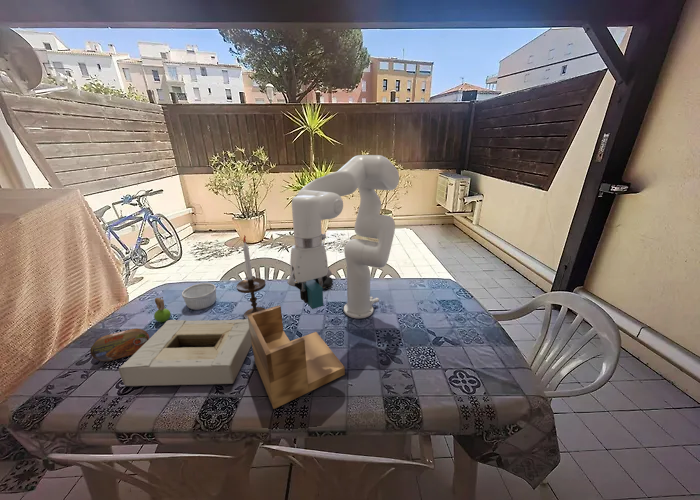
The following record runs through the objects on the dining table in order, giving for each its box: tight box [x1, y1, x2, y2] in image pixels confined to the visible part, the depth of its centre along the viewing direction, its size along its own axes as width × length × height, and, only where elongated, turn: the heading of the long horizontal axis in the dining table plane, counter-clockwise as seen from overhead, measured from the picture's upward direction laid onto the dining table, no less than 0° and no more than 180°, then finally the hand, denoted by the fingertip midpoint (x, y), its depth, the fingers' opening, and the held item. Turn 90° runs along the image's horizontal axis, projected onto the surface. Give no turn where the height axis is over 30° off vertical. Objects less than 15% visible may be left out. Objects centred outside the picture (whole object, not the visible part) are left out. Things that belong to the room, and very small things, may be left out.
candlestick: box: [236, 234, 267, 319], centre depth 106 cm, size 11×11×35 cm
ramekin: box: [181, 282, 217, 311], centre depth 120 cm, size 13×13×7 cm
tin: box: [89, 328, 150, 362], centre depth 90 cm, size 15×3×8 cm, turn 117°
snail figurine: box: [153, 296, 171, 323], centre depth 106 cm, size 5×6×12 cm
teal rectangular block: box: [306, 279, 324, 310], centre depth 80 cm, size 4×9×6 cm, turn 32°
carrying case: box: [314, 276, 334, 290], centre depth 136 cm, size 11×3×15 cm
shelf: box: [247, 304, 346, 410], centre depth 82 cm, size 22×20×18 cm
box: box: [118, 318, 252, 387], centre depth 88 cm, size 23×8×32 cm
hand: (311, 298), depth 81 cm, fingers closed on teal rectangular block, 3 cm apart
